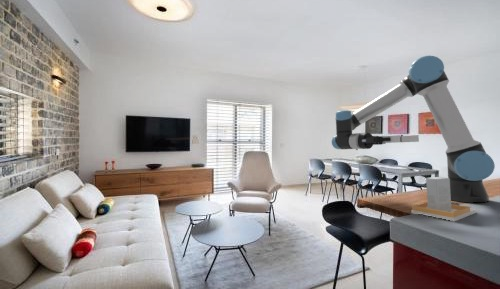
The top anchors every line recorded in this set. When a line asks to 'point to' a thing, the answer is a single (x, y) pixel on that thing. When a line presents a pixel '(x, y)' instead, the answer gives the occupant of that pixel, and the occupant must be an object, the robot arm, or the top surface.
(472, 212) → the shallow wooden tray
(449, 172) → the robot arm
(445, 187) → the skincare box
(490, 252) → the top surface
